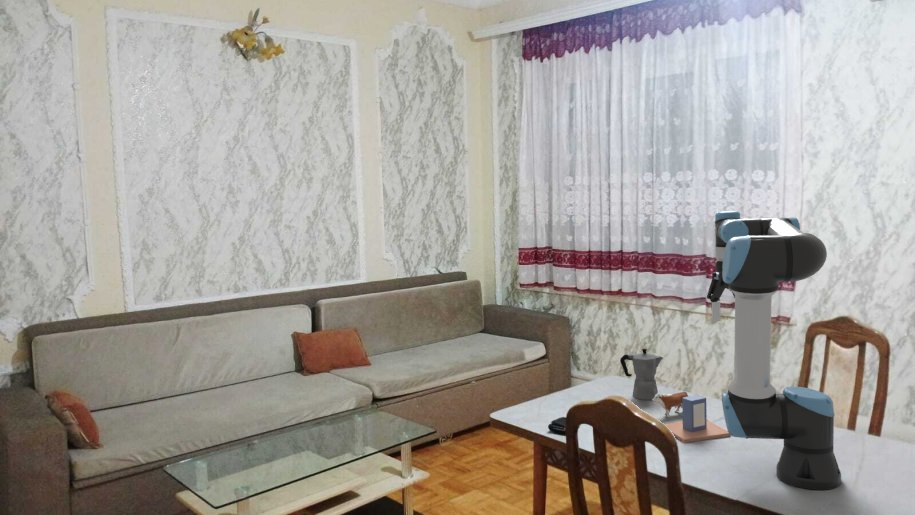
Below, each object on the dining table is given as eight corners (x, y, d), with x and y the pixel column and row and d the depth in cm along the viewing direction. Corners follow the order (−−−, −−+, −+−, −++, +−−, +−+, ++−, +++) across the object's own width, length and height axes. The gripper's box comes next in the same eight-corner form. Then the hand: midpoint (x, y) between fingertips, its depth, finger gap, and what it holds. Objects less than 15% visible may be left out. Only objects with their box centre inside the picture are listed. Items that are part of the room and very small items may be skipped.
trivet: (730, 435, 214) (730, 432, 214) (684, 442, 210) (684, 439, 210) (704, 421, 228) (704, 418, 228) (660, 427, 224) (660, 424, 224)
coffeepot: (663, 393, 260) (662, 345, 258) (664, 400, 251) (663, 351, 249) (621, 391, 264) (620, 345, 262) (620, 399, 255) (619, 351, 253)
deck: (691, 432, 216) (691, 401, 215) (682, 428, 220) (682, 397, 219) (706, 428, 218) (706, 397, 217) (697, 425, 222) (697, 394, 221)
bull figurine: (650, 415, 236) (650, 392, 235) (684, 410, 240) (684, 387, 239) (658, 419, 232) (657, 395, 231) (692, 413, 236) (692, 390, 235)
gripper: (764, 262, 211) (764, 331, 213) (715, 255, 235) (716, 317, 237) (742, 264, 209) (742, 333, 211) (695, 257, 234) (696, 319, 236)
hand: (728, 325), depth 224 cm, fingers open, 13 cm apart
